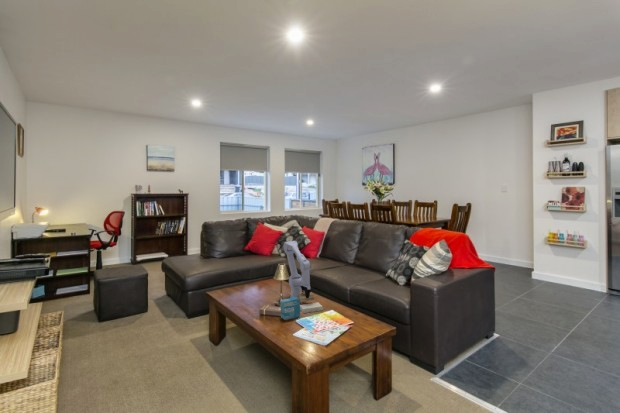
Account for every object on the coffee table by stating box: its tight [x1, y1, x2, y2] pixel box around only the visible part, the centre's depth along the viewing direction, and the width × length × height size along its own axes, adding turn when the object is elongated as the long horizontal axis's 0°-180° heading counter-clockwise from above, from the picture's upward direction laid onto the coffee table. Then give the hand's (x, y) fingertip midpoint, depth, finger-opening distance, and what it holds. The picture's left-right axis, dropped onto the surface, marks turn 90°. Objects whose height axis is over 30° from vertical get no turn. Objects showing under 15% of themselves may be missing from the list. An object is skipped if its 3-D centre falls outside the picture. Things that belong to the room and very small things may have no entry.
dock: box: [300, 302, 324, 314], centre depth 217 cm, size 9×14×3 cm, turn 109°
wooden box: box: [298, 291, 315, 303], centre depth 227 cm, size 6×10×4 cm, turn 109°
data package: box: [280, 297, 301, 321], centre depth 204 cm, size 12×4×12 cm, turn 117°
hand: (306, 296), depth 227 cm, fingers closed on wooden box, 6 cm apart
